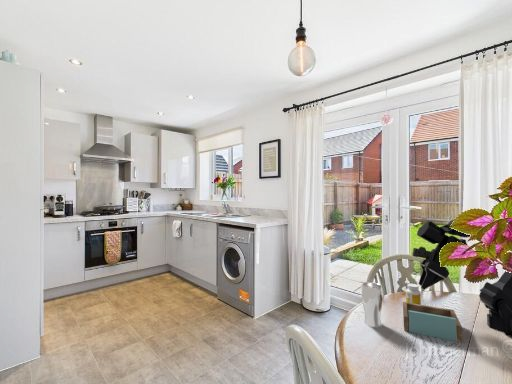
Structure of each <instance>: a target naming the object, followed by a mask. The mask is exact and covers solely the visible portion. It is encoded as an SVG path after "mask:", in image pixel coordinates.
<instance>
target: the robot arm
mask: <svg viewBox="0 0 512 384" xmlns="http://www.w3.org/2000/svg"><path fill="white" fill-rule="evenodd" d="M454 220H455V219H451V220H450V221H449V222H448V223H446V224H445V225H441V226H439V225H438V224H435V223H434V222H433V221H432V220H431V221H430V220H427V221H426V223H424V224H422V225H421V226H420V227H418V230H417V233H416V235H417V236H418V237H419V238H421V239H422V240H424V241H426V242H428V243H430V244H432V245H436V244H437V245H436V246H435V248H432V249H431V251H430V250H427V248H426V247H424V246H419V247H418V248H416V247H413V249H412V254H411V256H412V257H414V258H415V257H416V258H422V260H421V263H420V267H421V269H422V272H421V275H420V278H419V281H418V284H417V285H418V286H421V287H420V288H421V289H422V290H426V289H428V288H431V287H432V286H434V285H436V284H437V283H439V282H441V281H444V280H445V279H448V277H449V275H450V271H449V269H448V268H447V267H440V262H439V252H440V250H441V248H442V247H443V246H444V245H446V244H447V243H450V242H457V241H458V242H462V243H464V244H466V245H468V244H467V243H468V242H467V240H466V238H471V237H470V235H466V234H464V233H461V232H458V231H456V230H454V229H451V228H449V227H450V225H451V224H452V222H453V221H454ZM459 237H460V238H459ZM463 238H464V239H463ZM479 300H480V301H481V302H482V303H483V304H484V307H485V308H487V309H488V313H487V314H486V324H487V326H488V328H490V329H493V330H496V331H498V332H502V333H504V335H505V336H507V337H512V273H509V272H506V270H505V271H504V272H503V274H501V276H500V277H499V278H498V280H497V281H495V282H494V283H490V282H488V281H486V282H485V284H484V285H483V287H482V288H480V289H479Z"/></svg>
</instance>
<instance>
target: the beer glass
mask: <svg viewBox="0 0 512 384" xmlns="http://www.w3.org/2000/svg"><path fill="white" fill-rule="evenodd" d="M361 285H362V286H361V299H362V301H361V302H362V307H363V311H364V321H363V322H364V325H366V326H368V327H370V328H376V329H377V328H381V327H382V325H383V324H382V319H381V317H382V316H381V315H382V309H383V302H384V299H383V289H382V287H383V286H382V284H379V283H377V282H373V281H372V282H371V281H369V282H368V281H367V282H363V283H362V284H361Z"/></svg>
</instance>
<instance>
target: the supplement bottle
mask: <svg viewBox="0 0 512 384" xmlns="http://www.w3.org/2000/svg"><path fill="white" fill-rule="evenodd" d="M419 286H420V285H419V284H415V283H408V284H407V288H406V289H405V302H406V303H413V304H419V305H422V302H421V301H422V299H421V298H422V297H421V291H420V290H419Z"/></svg>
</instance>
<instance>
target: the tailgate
mask: <svg viewBox="0 0 512 384" xmlns="http://www.w3.org/2000/svg"><path fill="white" fill-rule="evenodd" d="M408 332H409V333H413V334H418V335H422V336H423V335H424V336H428V337H431V338H432V337H433V338H436V339H437V338H438V339H442V340H447V341H453V342H458V341H457V338H456V319H455V318H452V317H446V316H440V315H434V314H428V313H422V312H416V311H411V310H409V330H408Z"/></svg>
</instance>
